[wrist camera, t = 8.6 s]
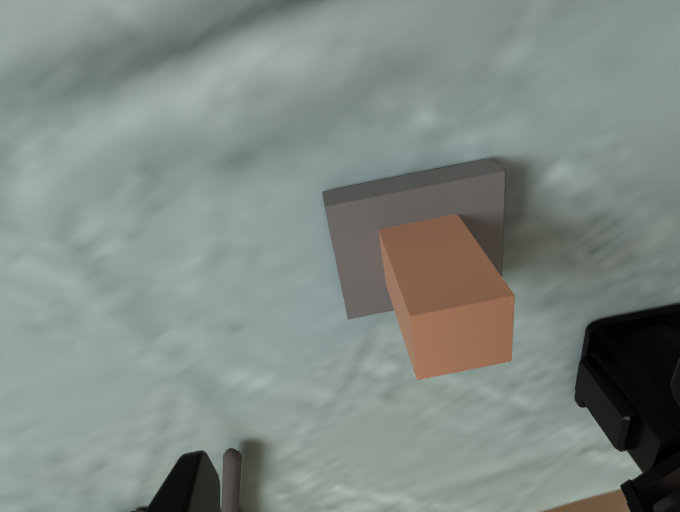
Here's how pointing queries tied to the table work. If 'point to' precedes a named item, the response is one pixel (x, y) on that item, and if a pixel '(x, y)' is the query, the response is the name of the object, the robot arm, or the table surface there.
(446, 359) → the stub
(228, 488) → the walkie-talkie
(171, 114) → the table surface
